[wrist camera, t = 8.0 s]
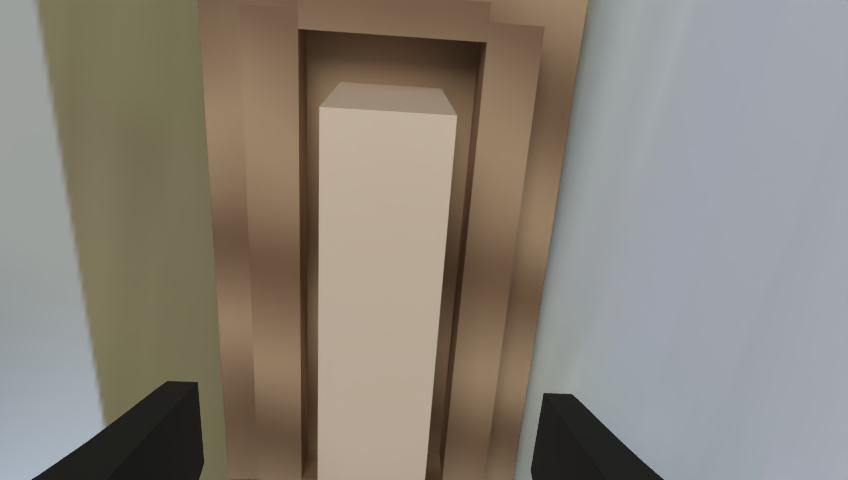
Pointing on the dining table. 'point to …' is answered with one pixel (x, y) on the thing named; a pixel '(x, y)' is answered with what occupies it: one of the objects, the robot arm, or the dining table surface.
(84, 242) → the dining table surface
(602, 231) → the dining table surface
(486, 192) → the rack
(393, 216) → the clay bar
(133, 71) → the dining table surface
